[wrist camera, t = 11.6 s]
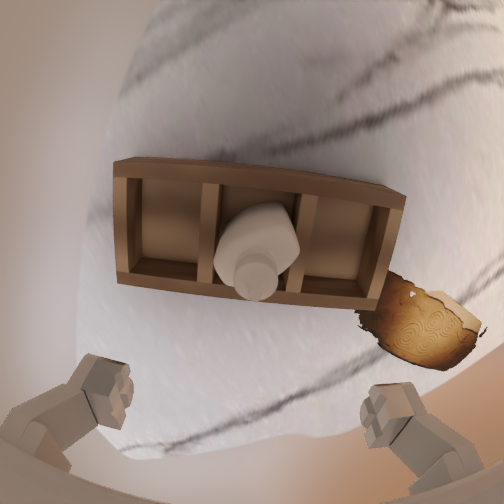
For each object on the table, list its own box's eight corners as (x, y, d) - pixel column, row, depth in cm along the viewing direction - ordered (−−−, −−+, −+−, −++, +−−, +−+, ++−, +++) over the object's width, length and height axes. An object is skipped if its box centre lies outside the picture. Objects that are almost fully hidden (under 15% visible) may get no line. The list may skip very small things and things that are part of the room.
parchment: (488, 327, 32) (491, 331, 31) (446, 377, 35) (448, 381, 34) (380, 243, 28) (383, 246, 27) (325, 318, 31) (326, 322, 30)
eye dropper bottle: (287, 249, 27) (305, 332, 16) (223, 246, 27) (200, 327, 16) (291, 201, 25) (317, 257, 14) (224, 197, 25) (197, 251, 14)
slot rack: (135, 156, 25) (113, 161, 21) (384, 186, 25) (406, 196, 21) (135, 262, 29) (117, 283, 24) (360, 286, 29) (374, 310, 25)
